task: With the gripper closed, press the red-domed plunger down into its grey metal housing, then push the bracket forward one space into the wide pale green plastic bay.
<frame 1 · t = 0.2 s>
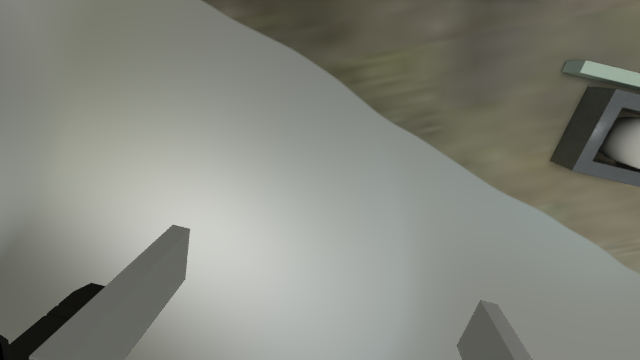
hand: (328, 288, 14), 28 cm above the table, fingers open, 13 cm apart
housing: (605, 133, 37), on the table
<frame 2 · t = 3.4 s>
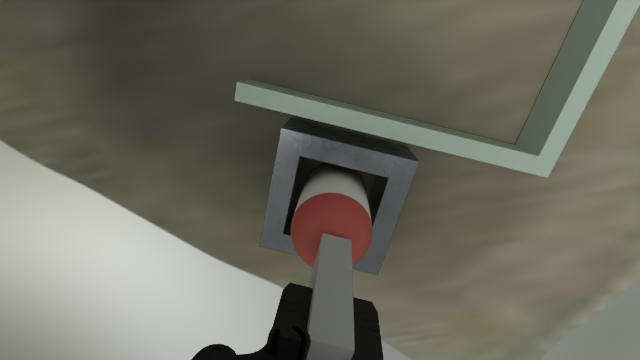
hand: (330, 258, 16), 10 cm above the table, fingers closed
housing: (335, 185, 25), on the table
plunger: (332, 217, 20), point 6 cm above the table, slide at 0.9 cm, touching gripper
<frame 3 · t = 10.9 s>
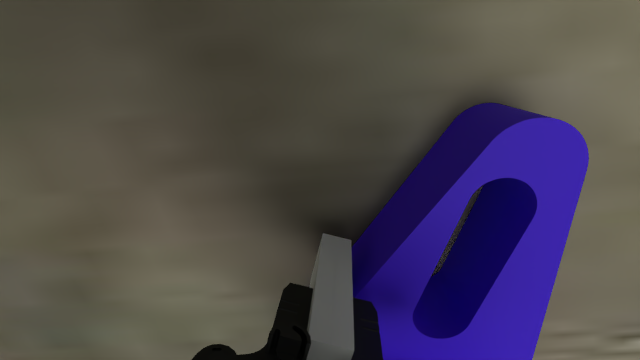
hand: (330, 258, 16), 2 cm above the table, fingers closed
bracket: (425, 257, 18), on the table, touching gripper
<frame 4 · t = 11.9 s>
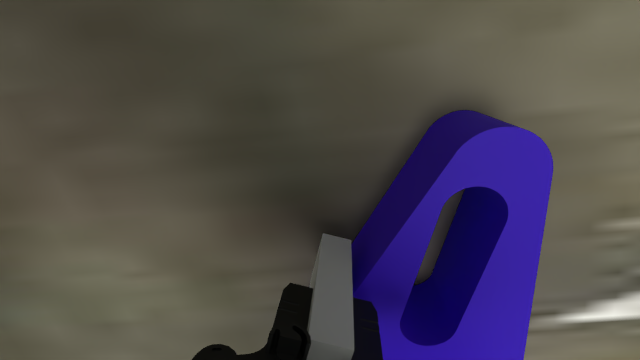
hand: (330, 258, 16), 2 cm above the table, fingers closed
bracket: (415, 263, 18), on the table, touching gripper
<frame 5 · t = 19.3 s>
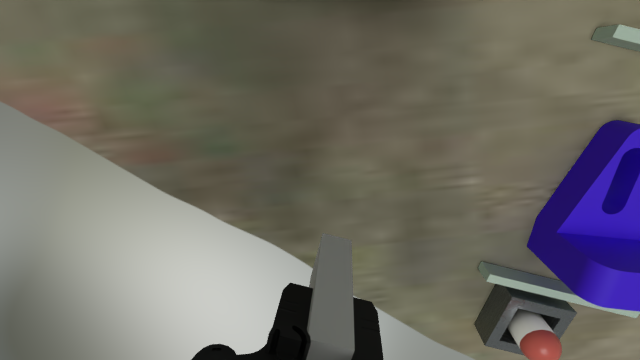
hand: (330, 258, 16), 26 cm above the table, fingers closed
bay: (597, 181, 40), on the table
bracket: (589, 189, 41), on the table
housing: (514, 309, 48), on the table
plunger: (532, 334, 43), point 5 cm above the table, slide at 1.7 cm
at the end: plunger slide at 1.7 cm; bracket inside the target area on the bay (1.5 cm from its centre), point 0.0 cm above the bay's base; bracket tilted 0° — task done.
